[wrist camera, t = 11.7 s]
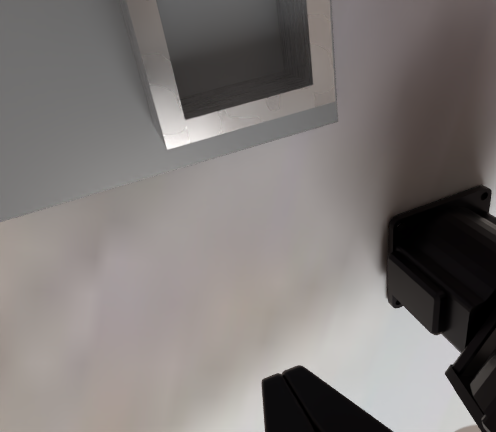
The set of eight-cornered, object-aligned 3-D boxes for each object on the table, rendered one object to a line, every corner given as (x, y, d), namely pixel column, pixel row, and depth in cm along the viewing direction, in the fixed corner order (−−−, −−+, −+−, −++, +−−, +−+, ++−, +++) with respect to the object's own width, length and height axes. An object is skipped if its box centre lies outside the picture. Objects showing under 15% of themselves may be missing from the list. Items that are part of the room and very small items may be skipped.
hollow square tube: (287, -100, 15) (323, -110, 13) (304, 85, 18) (335, 101, 16) (99, -67, 14) (106, -72, 12) (154, 126, 17) (166, 149, 15)
